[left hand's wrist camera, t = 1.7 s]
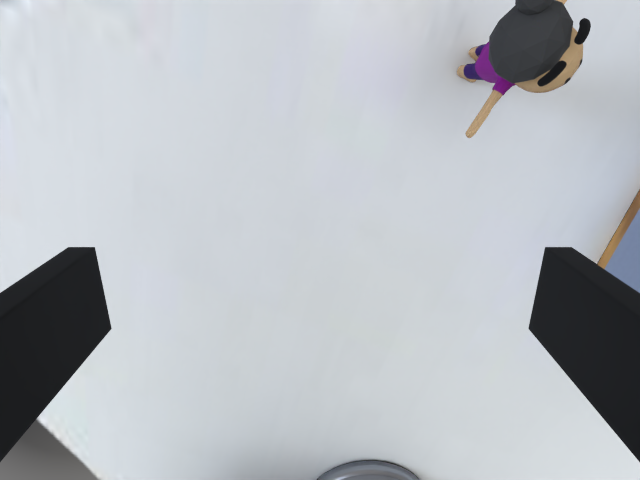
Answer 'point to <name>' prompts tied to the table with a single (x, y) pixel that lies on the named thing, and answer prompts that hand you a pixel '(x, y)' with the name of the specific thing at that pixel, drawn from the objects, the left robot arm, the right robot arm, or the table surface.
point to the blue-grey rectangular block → (625, 248)
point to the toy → (527, 52)
